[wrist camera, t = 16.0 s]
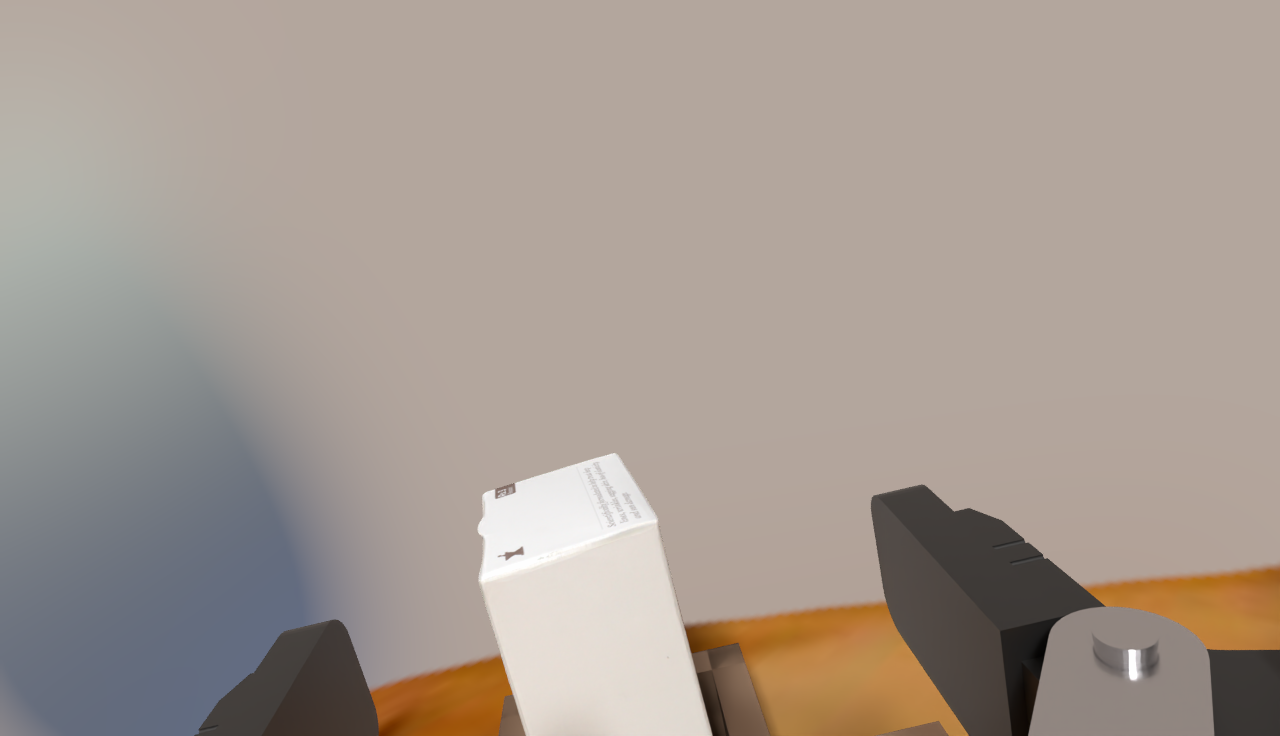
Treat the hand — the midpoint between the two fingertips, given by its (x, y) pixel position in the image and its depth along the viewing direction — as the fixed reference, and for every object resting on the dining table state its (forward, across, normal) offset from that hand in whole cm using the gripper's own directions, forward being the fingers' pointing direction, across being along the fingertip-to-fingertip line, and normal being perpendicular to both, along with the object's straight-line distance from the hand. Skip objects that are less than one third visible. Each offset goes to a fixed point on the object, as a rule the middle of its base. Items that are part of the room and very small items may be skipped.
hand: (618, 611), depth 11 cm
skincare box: (+14, +2, +19) cm, 24 cm away
